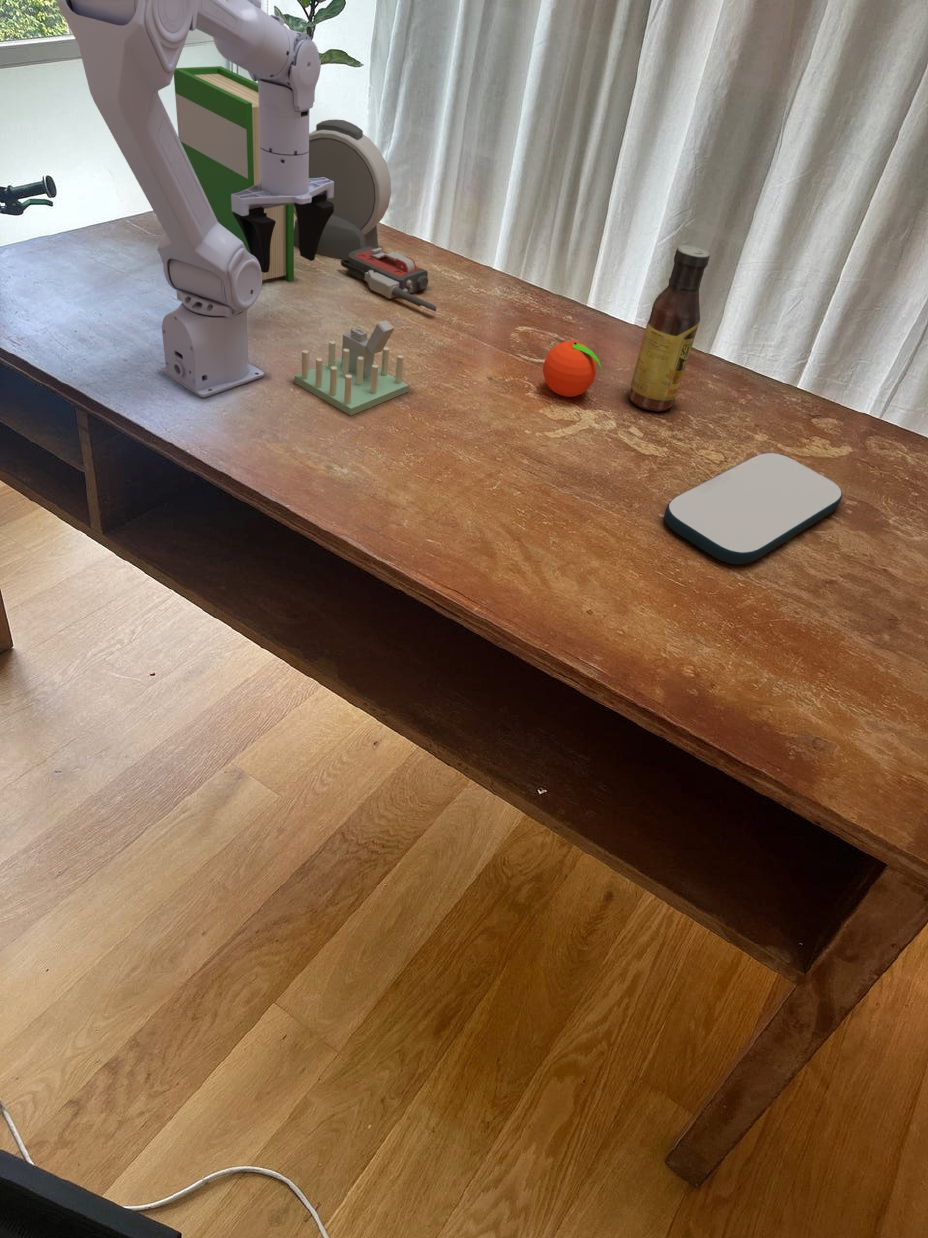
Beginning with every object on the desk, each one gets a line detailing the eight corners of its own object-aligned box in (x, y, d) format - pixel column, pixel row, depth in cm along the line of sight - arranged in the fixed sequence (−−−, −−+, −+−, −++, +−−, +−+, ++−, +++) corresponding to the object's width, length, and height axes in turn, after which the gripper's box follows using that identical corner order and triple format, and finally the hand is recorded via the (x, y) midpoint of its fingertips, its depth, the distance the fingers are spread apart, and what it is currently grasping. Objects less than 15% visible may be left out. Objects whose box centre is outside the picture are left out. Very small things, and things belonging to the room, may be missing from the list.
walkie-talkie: (329, 273, 137) (429, 320, 129) (330, 244, 134) (433, 290, 126) (368, 261, 143) (466, 305, 135) (370, 233, 140) (470, 276, 132)
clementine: (606, 396, 119) (619, 346, 114) (582, 415, 114) (594, 363, 109) (554, 375, 121) (565, 325, 117) (528, 392, 117) (539, 341, 112)
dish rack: (350, 415, 106) (352, 381, 103) (294, 382, 111) (294, 348, 108) (408, 391, 113) (411, 358, 110) (352, 361, 117) (354, 328, 114)
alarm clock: (392, 246, 149) (401, 126, 137) (371, 266, 141) (379, 140, 129) (302, 225, 151) (303, 104, 139) (276, 243, 143) (275, 117, 131)
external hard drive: (735, 576, 93) (742, 561, 91) (650, 520, 98) (654, 505, 97) (846, 505, 106) (853, 491, 105) (765, 460, 112) (771, 446, 110)
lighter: (340, 365, 113) (343, 304, 108) (350, 362, 114) (353, 301, 109) (380, 388, 110) (384, 326, 105) (390, 384, 111) (395, 323, 106)
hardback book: (293, 280, 134) (294, 100, 118) (251, 288, 129) (245, 103, 113) (228, 239, 142) (220, 65, 126) (186, 246, 138) (173, 67, 122)
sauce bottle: (672, 418, 117) (720, 266, 104) (625, 407, 117) (667, 255, 104) (673, 395, 122) (720, 247, 108) (628, 385, 122) (669, 237, 109)
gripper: (257, 165, 99) (260, 286, 108) (352, 150, 108) (347, 262, 117) (217, 147, 102) (223, 266, 111) (313, 133, 111) (311, 244, 120)
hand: (284, 263), depth 114 cm, fingers open, 7 cm apart
